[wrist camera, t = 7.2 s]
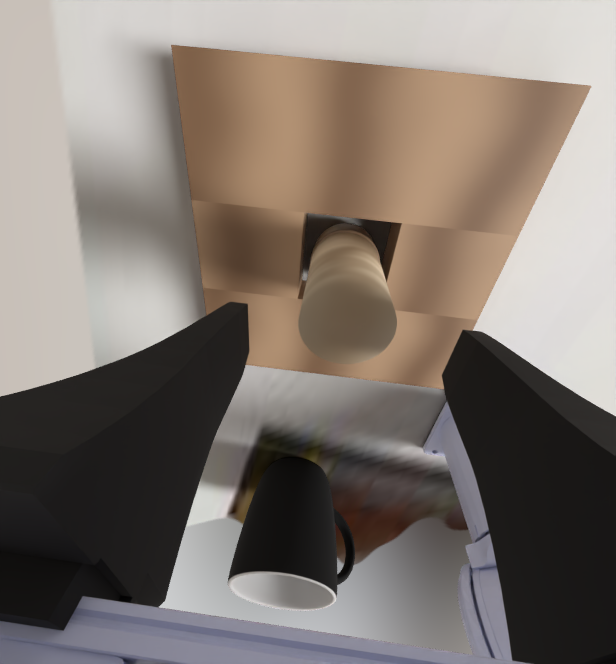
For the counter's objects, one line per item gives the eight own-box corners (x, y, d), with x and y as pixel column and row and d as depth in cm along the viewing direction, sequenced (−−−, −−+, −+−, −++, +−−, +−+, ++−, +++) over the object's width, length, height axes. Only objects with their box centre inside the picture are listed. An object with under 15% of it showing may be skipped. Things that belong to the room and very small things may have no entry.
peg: (382, 223, 17) (412, 289, 10) (366, 282, 19) (382, 371, 12) (318, 213, 17) (302, 272, 10) (309, 273, 19) (292, 357, 12)
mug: (242, 475, 33) (209, 590, 25) (282, 437, 29) (259, 562, 21) (328, 512, 37) (325, 625, 28) (377, 483, 32) (390, 607, 24)
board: (552, 92, 13) (591, 85, 11) (434, 365, 22) (443, 389, 20) (196, 57, 14) (171, 45, 11) (224, 339, 23) (212, 360, 21)
